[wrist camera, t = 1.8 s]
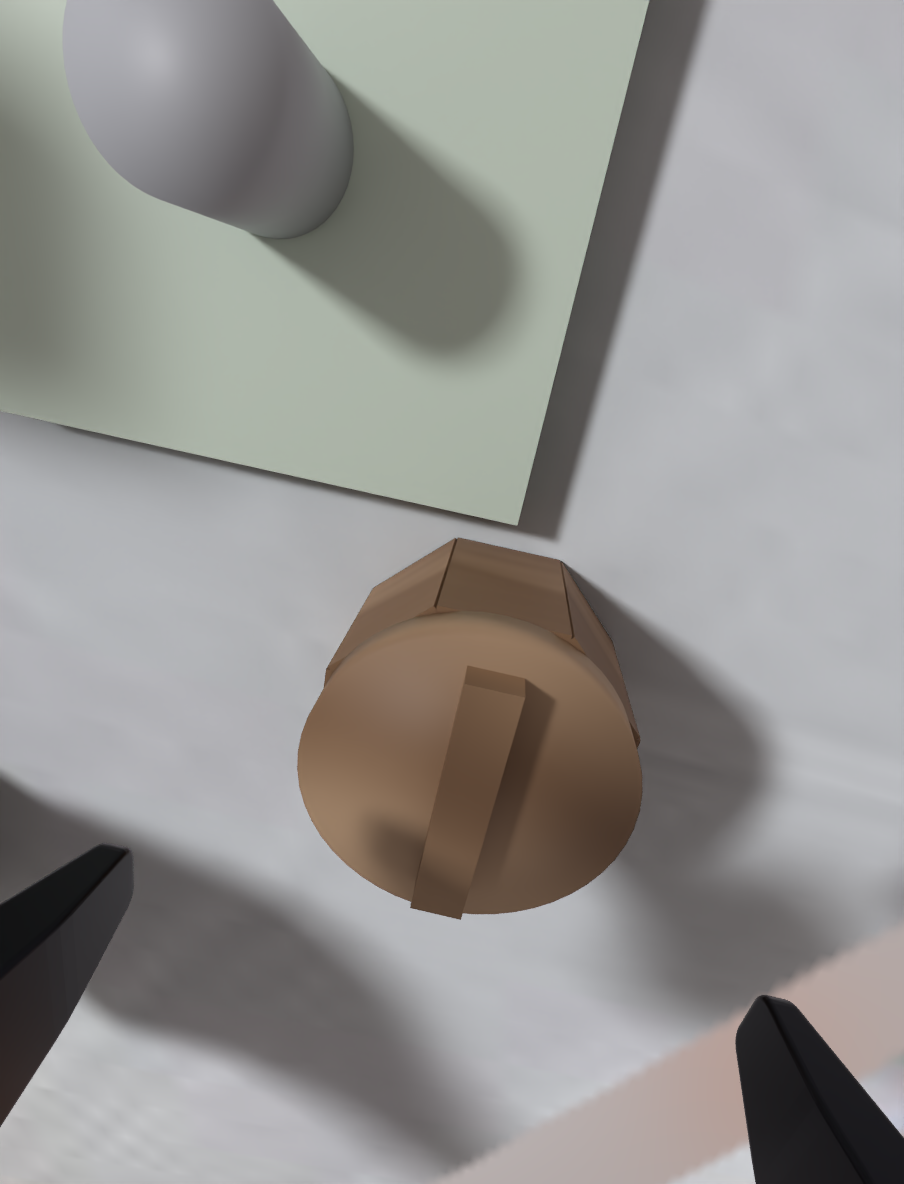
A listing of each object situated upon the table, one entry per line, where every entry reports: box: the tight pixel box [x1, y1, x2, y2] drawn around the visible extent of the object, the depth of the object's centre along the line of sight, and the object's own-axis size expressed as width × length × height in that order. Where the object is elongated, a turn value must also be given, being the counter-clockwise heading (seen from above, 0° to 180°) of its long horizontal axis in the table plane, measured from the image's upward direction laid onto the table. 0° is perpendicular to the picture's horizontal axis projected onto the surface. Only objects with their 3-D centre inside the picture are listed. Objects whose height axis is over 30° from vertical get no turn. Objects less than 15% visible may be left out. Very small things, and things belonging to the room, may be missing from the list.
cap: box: [297, 538, 642, 920], centre depth 14 cm, size 6×6×6 cm
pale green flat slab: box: [0, 0, 649, 526], centre depth 10 cm, size 12×12×4 cm
